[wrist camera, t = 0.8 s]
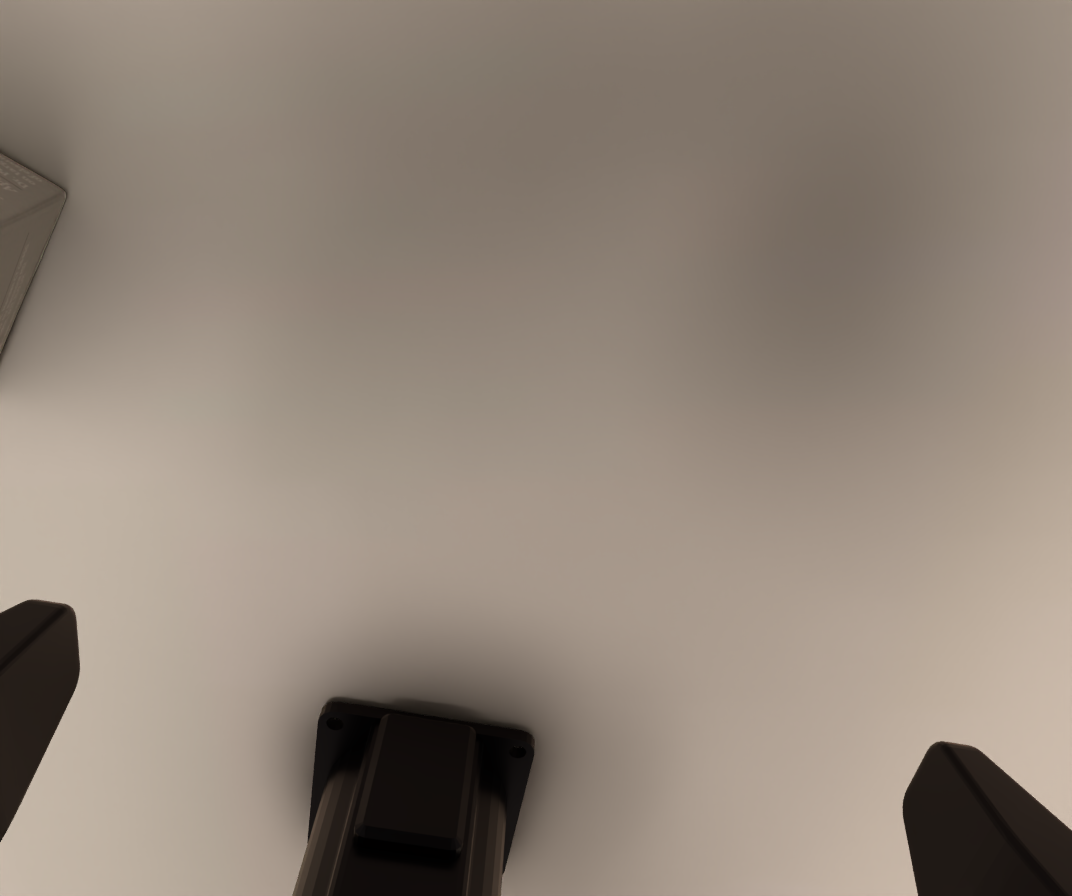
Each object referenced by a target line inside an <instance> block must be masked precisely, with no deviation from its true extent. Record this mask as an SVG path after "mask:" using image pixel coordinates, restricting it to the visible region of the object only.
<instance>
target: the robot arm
mask: <svg viewBox="0 0 1072 896" xmlns="http://www.w3.org/2000/svg"><path fill="white" fill-rule="evenodd" d="M79 672H80V660H79V647H78V634H77V621H76V615H75V612H74V610H73V608H72V607H70V606H69V605H67V604H62V603H56V602H49V601H43V600H27V601H24V602H22V603H20V604H18V605H16V606H14V607H12V608H10V609H7V610H5V611H3V612H1V613H0V842H1V840H2V838H3V837H4V835H5V833H6V831H7V830H8V828H9V826H10V824H11V822H12V820H13V818H14V816H15V814H16V812H17V810H18V808H19V806H20V804H21V802H22V800H23V798H24V796H25V794H26V791H27V789H28V787H29V785H30V783H31V781H32V779H33V777H34V775H35V773H36V771H37V768H38V766H39V764H40V762H41V760H42V758H43V756H44V754H45V752H46V750H47V748H48V745H49V743H50V741H51V739H52V737H53V735H54V733H55V731H56V729H57V727H58V724H59V722H60V720H61V718H62V716H63V714H64V712H65V710H66V708H67V706H68V704H69V701H70V699H71V697H72V695H73V693H74V691H75V688H76V685H77V682H78V678H79ZM333 718H338V719H340V720H336V719H333ZM514 746H520V747H522V748H516V747H514ZM534 746H535V741H534V738H533V736H532V735H531V734H529V733H528V732H525V731H522V730H517V729H510V728H504V727H498V726H491V725H485V724H478V723H472V722H465V721H459V720H453V719H446V718H440V717H433V716H427V715H421V714H414V713H408V712H401V711H395V710H389V709H382V708H376V707H369V706H363V705H356V704H350V703H344V702H330V703H327V704H326V705H325V706H324V707H323V708H322V711H321V714H320V717H319V720H318V728H317V740H316V751H315V763H314V774H313V786H312V797H311V809H310V820H309V832H308V845H307V848H306V852H305V855H304V858H303V862H302V865H301V868H300V872H299V875H298V879H297V882H296V885H295V889H294V892H293V896H501V883H502V875H503V873H504V871H505V867H506V863H507V859H508V855H509V852H510V848H511V844H512V840H513V836H514V832H515V828H516V824H517V820H518V816H519V812H520V808H521V804H522V800H523V796H524V793H525V789H526V785H527V781H528V777H529V773H530V769H531V765H532V761H533V757H534ZM903 819H904V824H905V829H906V835H907V840H908V845H909V850H910V856H911V861H912V866H913V871H914V877H915V882H916V887H917V892H918V896H1072V830H1071V829H1069V828H1068V827H1067V826H1066V825H1065V824H1064V823H1062V822H1061V821H1060V820H1059V819H1058V818H1057V817H1056V816H1054V815H1053V814H1052V813H1051V812H1050V811H1049V810H1048V809H1046V808H1045V807H1044V806H1043V805H1042V804H1041V803H1040V802H1038V801H1037V800H1036V799H1035V798H1034V797H1033V796H1032V795H1030V794H1029V793H1028V792H1027V791H1026V790H1025V789H1024V788H1022V787H1021V786H1020V785H1019V784H1018V783H1017V782H1016V781H1014V780H1013V779H1012V778H1011V777H1010V776H1009V775H1007V774H1006V773H1005V772H1004V771H1003V770H1002V769H1001V768H999V767H998V766H997V765H996V764H995V763H994V762H993V761H991V760H990V759H989V758H988V757H987V756H986V755H985V754H983V753H982V752H981V751H980V750H978V749H977V748H975V747H972V746H969V745H963V744H957V743H950V742H944V741H940V742H936V743H934V744H933V745H931V746H930V748H929V749H928V751H927V752H926V754H925V756H924V758H923V760H922V762H921V764H920V766H919V767H918V769H917V771H916V773H915V775H914V777H913V779H912V781H911V783H910V784H909V786H908V788H907V790H906V793H905V796H904V800H903Z"/></svg>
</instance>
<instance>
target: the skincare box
mask: <svg viewBox="0 0 1072 896" xmlns="http://www.w3.org/2000/svg"><path fill="white" fill-rule="evenodd" d="M65 199H66V193H65V191H64V190H63V189H61V188H60V187H58V186H57V185H55V184H54V183H52V182H50V181H48V180H47V179H45V178H43V177H41V176H40V175H38V174H36V173H34V172H32V171H31V170H29V169H27V168H25V167H24V166H22V165H20V164H18V163H17V162H15V161H13V160H11V159H10V158H8V157H6V156H4V155H3V154H1V153H0V354H1V351H2V348H3V346H4V344H5V341H6V339H7V336H8V334H9V332H10V329H11V327H12V325H13V322H14V320H15V317H16V315H17V313H18V310H19V308H20V306H21V303H22V301H23V299H24V296H25V294H26V292H27V289H28V287H29V285H30V283H31V281H32V278H33V276H34V274H35V271H36V269H37V267H38V264H39V262H40V260H41V258H42V256H43V252H44V250H45V248H46V246H47V244H48V241H49V239H50V236H51V234H52V231H53V229H54V226H55V224H56V222H57V219H58V217H59V215H60V212H61V210H62V207H63V205H64V202H65Z"/></svg>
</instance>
